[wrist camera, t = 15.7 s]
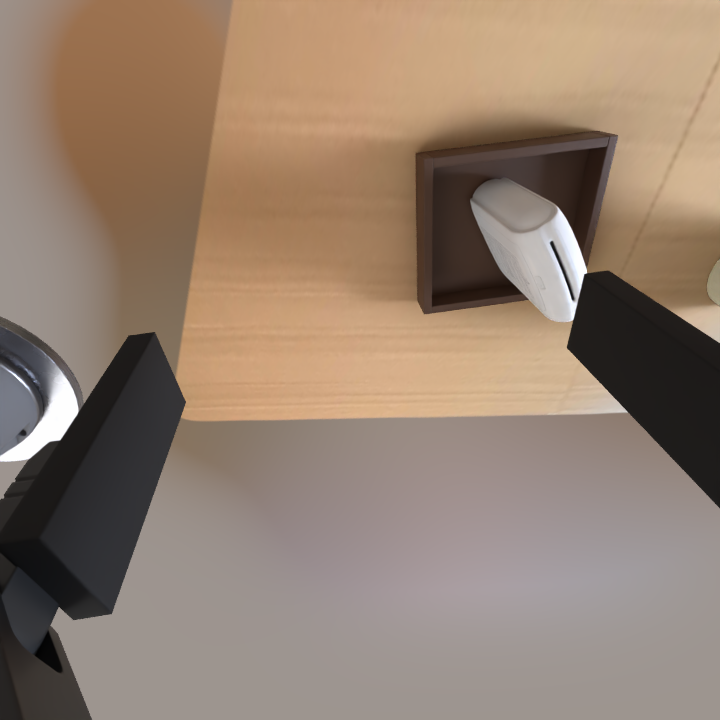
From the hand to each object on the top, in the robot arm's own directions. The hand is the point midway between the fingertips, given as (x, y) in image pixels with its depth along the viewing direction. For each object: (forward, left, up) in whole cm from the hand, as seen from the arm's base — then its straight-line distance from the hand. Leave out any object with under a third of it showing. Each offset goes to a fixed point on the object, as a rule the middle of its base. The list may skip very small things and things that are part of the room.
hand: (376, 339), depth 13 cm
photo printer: (+16, -7, -28) cm, 33 cm away
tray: (+16, -7, -29) cm, 34 cm away
